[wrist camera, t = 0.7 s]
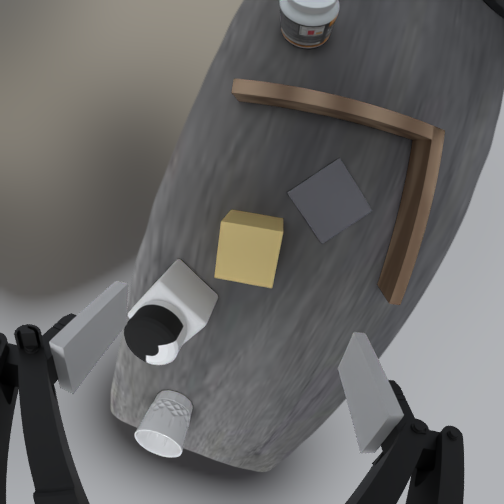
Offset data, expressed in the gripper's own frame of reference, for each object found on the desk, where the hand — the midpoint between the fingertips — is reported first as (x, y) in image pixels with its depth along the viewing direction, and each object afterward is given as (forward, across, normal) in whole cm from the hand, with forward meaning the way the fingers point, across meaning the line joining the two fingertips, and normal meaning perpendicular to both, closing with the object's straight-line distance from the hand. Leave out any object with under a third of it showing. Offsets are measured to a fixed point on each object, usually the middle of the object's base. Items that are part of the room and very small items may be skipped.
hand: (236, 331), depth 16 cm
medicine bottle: (+21, -8, -9) cm, 24 cm away
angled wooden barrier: (+19, +6, +7) cm, 22 cm away
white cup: (+22, -8, -32) cm, 40 cm away
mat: (+19, +8, +6) cm, 22 cm away
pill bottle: (+19, +1, +26) cm, 32 cm away
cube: (+20, 0, 0) cm, 20 cm away
